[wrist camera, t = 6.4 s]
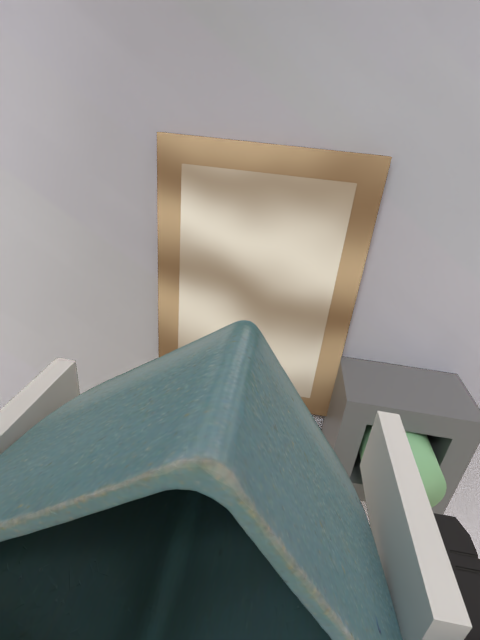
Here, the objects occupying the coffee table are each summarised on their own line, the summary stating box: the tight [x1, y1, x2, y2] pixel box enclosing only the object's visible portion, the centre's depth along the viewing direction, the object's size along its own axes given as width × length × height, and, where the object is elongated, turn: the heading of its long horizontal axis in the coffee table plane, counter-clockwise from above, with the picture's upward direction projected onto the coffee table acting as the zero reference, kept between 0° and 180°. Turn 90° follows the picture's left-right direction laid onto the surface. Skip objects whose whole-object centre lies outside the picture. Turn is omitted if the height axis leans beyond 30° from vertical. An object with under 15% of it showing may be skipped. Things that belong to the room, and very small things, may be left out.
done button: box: [359, 425, 447, 508], centre depth 24 cm, size 4×4×5 cm
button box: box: [321, 357, 480, 515], centre depth 26 cm, size 8×8×5 cm
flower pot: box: [0, 320, 403, 640], centre depth 12 cm, size 9×9×9 cm
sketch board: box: [157, 132, 392, 416], centre depth 25 cm, size 18×13×1 cm
